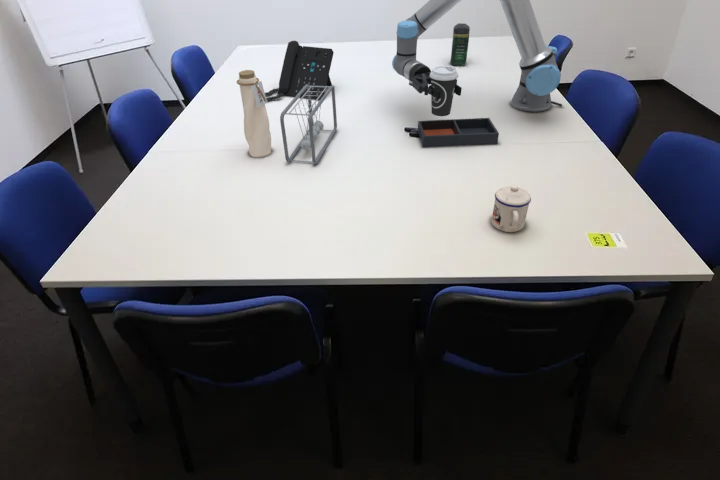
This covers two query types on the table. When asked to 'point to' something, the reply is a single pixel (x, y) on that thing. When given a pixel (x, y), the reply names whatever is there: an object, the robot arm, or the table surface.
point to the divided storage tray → (457, 132)
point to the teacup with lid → (510, 208)
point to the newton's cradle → (313, 127)
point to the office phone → (304, 71)
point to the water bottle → (255, 114)
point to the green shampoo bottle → (460, 44)
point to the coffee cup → (443, 89)
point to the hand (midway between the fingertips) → (449, 93)
